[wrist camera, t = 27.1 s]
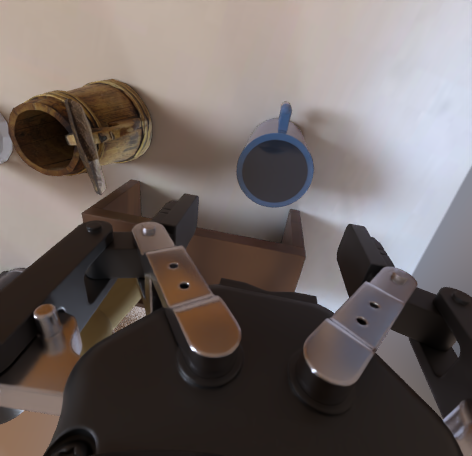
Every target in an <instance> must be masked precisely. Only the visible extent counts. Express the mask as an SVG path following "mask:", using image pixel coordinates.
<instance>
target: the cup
mask: <svg viewBox="0 0 472 456" xmlns="http://www.w3.org/2000/svg"><path fill="white" fill-rule="evenodd" d="M291 113H292V108H291V106H290V103H289V102H287V101H285V102H283V103H282V104H281V110H280V115H279V118H273V119H269V120H266V121H264V122H262V123H261V124H259V125H258V126H257V127H256V128H255V129H254V131H253V132H252V134H251V136H250V138H249V139H248V141H247V143H246V145H245V147H244V149H243V151H242V153H241V155H240V157H239V159H238V163H237V179H238V183H239V185H240V187H241V189H242V191H243V192H244V193H245V195H246V196H247V197H248V198H249V199H251V200H252V201H253V202H255V203H257V204H259V205H262V206H266V207H283V206H286V205H289V204H291V203H293V202H295V201H297V200H298V199H299V198H301V197H302V196H303V195H304V194H305V192H306V191H307V190H308V188H309V186H310V184H311V182H312V178H313V173H314V165H313V160H312V157H311V154H310V152H309V149H308V146H307V144H306V141H305V139H304V136H303V134H302V132H301V130H300V129H299V128H298V127H297V126H296V125H295V124H294V123H293V122H291V121H290V117H291Z"/></svg>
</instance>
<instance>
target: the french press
mask: <svg viewBox="0 0 472 456" xmlns="http://www.w3.org/2000/svg"><path fill="white" fill-rule="evenodd" d="M11 153H12V141H11V139H10V136H9V134H8V124H7V122H6V120H5V119H4V117H3V116H2V115H1V113H0V164H1V163H3V162H5V161H7V160H8V158H9V156H10V155H11Z"/></svg>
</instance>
